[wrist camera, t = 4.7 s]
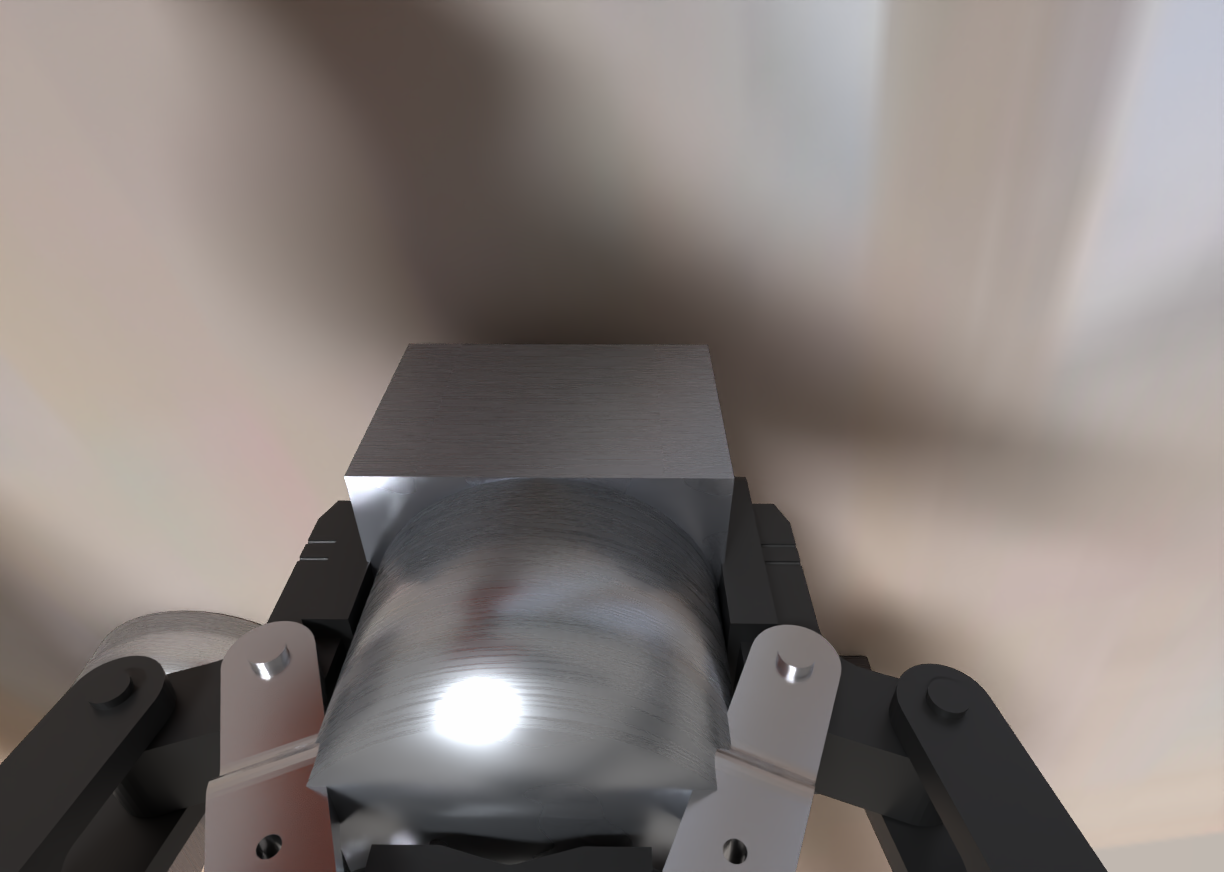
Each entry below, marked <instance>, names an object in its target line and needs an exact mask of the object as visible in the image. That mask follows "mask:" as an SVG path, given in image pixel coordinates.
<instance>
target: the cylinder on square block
mask: <svg viewBox="0 0 1224 872" xmlns="http://www.w3.org/2000/svg"><path fill="white" fill-rule="evenodd" d="M344 478H345V481H346V485H347V489H348V493H349V496H350V500H351V504H352V508H353V511H354V515H355V519H356V523H357V526H358V530H359V534H360V538H361V541H362V545H363V549H364V553H365V556H366V560H367V562H370V563H371V567H372V571H373V575H374V579H375V580H374V582H373V585H372V588H371V591H370V593H369V596H368V599H367V601H366V604H365V607H364V610H363V612H362V615H361V618H360V620H359V623H358V626H357V629H356V631H355V634H354V637H353V639H352V642H351V645H350V648H349V650H348V653H347V656H346V658H345V661H344V664H343V667H342V669H341V672H340V675H339V677H338V680H337V683H336V686H335V688H334V691H333V694H332V697H331V699H330V702H329V705H328V707H327V710H326V713H325V717H324V720H323V722H322V725H321V728H320V730H319V733H318V736H317V739H316V742H315V743H318V742H319V750H318V754H317V757H316V760H315V763H314V766H313V768H312V771H311V774H310V777H309V780H308V782H307V785H306V786H317V787H327V789H328V792H329V794H330V797H331V799H332V801H333V804H334V806H335V809H336V811H337V814H338V816H339V819H340V821H341V823H342V824H340V844H341V850H342V853H343V855H344V857H345V860H346V862H347V864H348V867H349V869H350V871H351V872H352V871H354V870H357V869H360V868H364V867H366V864H367V860H368V856H369V852H370V849H371V845H372V844H392V845H442V846H445V847H449V848H452V849H455V850H459V851H462V852H465V853H468V854H472V855H475V856H478V857H482V858H485V859H488V860H492V861H495V862H498V863H502V864H507V865H512V864H518V863H521V862H525V861H529V860H533V859H537V858H540V857H544V856H548V855H552V854H556V853H559V852H563V851H567V850H571V849H575V848H578V847H582V846H593V847H652V868H654V869H657V870H660V871H663V868H664V866H665V863H666V860H667V858H668V855H669V852H670V850H671V847H672V844H673V842H674V839H675V836H676V834H677V831H678V828H679V826H680V823H681V820H682V818H683V815H684V812H685V809H686V807H687V804H688V801H689V799H690V796H691V793H692V791H693V790H717V782H716V772H715V754H716V751H717V749H718V748H725V749H727V750H730V749H731V738H730V730H729V723H728V715H727V712H728V709H729V706H730V704H731V701H732V698H733V694H732V686H731V679H730V672H729V665H728V658H727V652H726V645H725V638H724V631H723V624H722V617H721V610H720V602H719V595H718V590H719V581H720V573H721V564H724V560H725V552H726V544H727V536H728V527H729V519H730V511H731V502H732V494H733V486H734V474H733V469H732V464H731V459H730V454H729V449H728V444H727V439H726V434H725V429H724V424H723V419H722V414H721V409H720V404H719V399H718V394H717V389H716V384H715V379H714V374H713V369H712V363H711V358H710V353H709V348H708V345H610V344H409V345H408V347H407V349H406V351H405V353H404V355H403V357H402V359H401V361H400V363H399V365H398V367H397V369H396V371H395V373H394V375H393V378H392V380H391V382H390V384H389V386H388V388H387V390H386V392H385V394H384V396H383V398H382V400H381V402H380V404H379V406H378V408H377V410H376V412H375V414H374V416H373V418H372V420H371V423H370V425H369V427H368V429H367V431H366V433H365V435H364V437H363V439H362V441H361V443H360V445H359V447H358V449H357V451H356V453H355V455H354V457H353V459H352V461H351V463H350V466H349V468H348V470H347V472H346V474H345V476H344Z"/></svg>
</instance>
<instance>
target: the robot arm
mask: <svg viewBox="0 0 1224 872" xmlns="http://www.w3.org/2000/svg"><path fill="white" fill-rule="evenodd" d="M795 545H796V544H795V540H794V536H793V533H792V529H791V525H790V522H789V521H788V520H787V519H786V518H785V517H784V516H783V514H782V513H781V512H780V511H779V510H778V509H777V507H776V506H775V505H774V504H752V502H751V497H750V493H749V488H748V484H747V480H746V478H745V477H734V486H733V494H732V502H731V511H730V519H729V527H728V536H727V544H726V552H725V560H724V564H721V573H720V581H719V590H718V595H719V602H720V610H721V617H722V624H723V631H724V638H725V645H726V652H727V658H728V665H729V672H730V679H731V686H732V694H733V698H732V701H731V704H730V706H729V709H728V712H727V715H728V723H729V730H730V738H731V749H730V750H727V749H725V748H718V749H717V751H716V754H715V772H716V782H717V790H693V791H692V793H691V796H690V799H689V801H688V804H687V807H686V809H685V812H684V815H683V818H682V820H681V823H680V826H679V828H678V831H677V834H676V836H675V839H674V842H673V844H672V847H671V850H670V852H669V855H668V858H667V860H666V863H665V866H664V868H663V871H660V870H657V869H654V868H652V847H593V846H582V847H578V848H575V849H571V850H567V851H563V852H559V853H556V854H552V855H548V856H544V857H540V858H537V859H533V860H529V861H525V862H521V863H518V864H512V865H507V864H502V863H498V862H495V861H492V860H488V859H485V858H482V857H478V856H475V855H472V854H468V853H465V852H462V851H459V850H455V849H452V848H449V847H445V846H442V845H392V844H372V845H371V849H370V852H369V856H368V860H367V864H366V867H364V868H360V869H357V870H354V871H352V872H796V868H797V864H798V859H799V855H800V851H801V847H802V842H803V838H804V834H805V830H806V825H807V821H808V817H809V812H810V808H811V804H812V800H813V795H814V792H816V793H819V794H822V795H825V796H828V797H831V798H834V799H837V800H840V801H843V802H846V803H849V804H852V805H855V806H858V807H861V808H864V809H865V811H866V813H867V816H868V818H869V820H870V822H871V825H872V827H873V829H874V831H875V833H876V836H877V838H878V840H879V842H880V844H881V847H882V849H883V851H884V853H885V856H886V858H887V860H888V862H889V864H890V867H891V869H892V871H893V872H1107V870H1106V869H1105V867H1104V866H1103V864H1102V863H1101V861H1100V860H1099V858H1098V857H1097V855H1096V854H1095V852H1094V851H1093V849H1092V848H1091V846H1090V845H1089V843H1088V842H1087V840H1086V839H1085V837H1084V836H1083V834H1082V833H1081V831H1080V830H1079V829H1078V827H1077V826H1076V824H1075V823H1074V821H1073V820H1072V818H1071V817H1070V815H1069V814H1068V812H1067V811H1066V809H1065V808H1064V806H1063V805H1062V803H1061V802H1060V800H1059V799H1058V797H1057V796H1056V794H1055V793H1054V791H1053V790H1052V788H1051V787H1050V786H1049V784H1048V783H1047V781H1046V780H1045V778H1044V777H1043V775H1042V774H1041V772H1040V771H1039V769H1038V768H1037V766H1036V765H1035V763H1034V762H1033V760H1032V759H1031V757H1030V756H1029V754H1028V753H1027V751H1026V750H1025V748H1024V747H1023V746H1022V744H1021V743H1020V741H1019V740H1018V738H1017V737H1016V735H1015V734H1014V732H1013V731H1012V729H1011V728H1010V726H1009V725H1008V723H1007V722H1006V720H1005V719H1004V717H1003V716H1002V714H1001V713H1000V711H999V710H998V708H997V707H996V705H995V704H994V703H993V701H992V700H991V698H990V697H989V695H988V694H987V693H986V691H985V690H984V689H983V688H982V687H981V686H980V685H979V684H978V683H977V682H976V681H974V680H973V679H972V678H970V677H969V676H967V675H966V674H964V673H962V672H960V671H958V670H956V669H953V668H950V667H947V666H943V665H939V664H921V665H917V666H914V667H912V668H910V669H908V670H907V671H905V672H904V673H903V674H902V676H901V677H900V679H898V678H895V677H891V676H888V675H884V674H881V673H877V672H874V671H870V670H867V669H864V668H861V667H858V666H856V665H854V664H852V663H850V662H848V661H847V660H845V659H843V658H842V657H841V656H839V655H838V654H837V652H836V650H835V649H834V647H833V646H832V645H831V644H830V643H829V642H828V641H827V640H826V639H825V638H824V637H822V635H821V633H820V630H819V627H818V624H817V620H816V616H815V613H814V609H813V606H812V602H811V598H810V595H809V591H808V587H807V584H806V580H805V576H804V573H803V569H802V566H800V558H799V554H798V551H797V548H796V546H795ZM374 580H375V579H374V575H373V571H372V567H371V563H370V562H367V560H366V556H365V553H364V549H363V545H362V541H361V538H360V534H359V530H358V526H357V523H356V519H355V515H354V511H353V508H352V504H351V501H338V502H337V503H335V504H334V505H333V506H332V507H331V508H330V509H329V510H328V511H327V512H326V513H325V514H323V515H322V516H321V517H320V518H319V519H318V521H317V523H316V525H315V527H314V529H313V531H312V533H311V535H310V537H309V539H308V544H306V545H305V547H304V549H303V551H302V553H301V555H300V561H297V563H296V565H295V567H294V569H293V572H292V574H291V576H290V578H289V580H288V582H287V584H286V586H285V588H284V590H283V592H282V594H281V596H280V598H279V600H278V602H277V604H276V606H275V608H274V610H273V612H272V614H271V616H270V618H269V620H268V622H267V624H264V625H262V626H259V627H257V628H255V629H252V630H251V631H249V632H247V633H246V634H244V635H243V636H242V637H240V638H239V639H238V640H237V641H236V642H235V643H234V644H233V645H232V646H231V647H230V648H229V650H228V651H227V652H226V654H225V656H224V658H223V659H221V660H219V661H215V662H212V663H209V664H205V665H201V666H197V667H193V668H189V669H185V670H181V671H177V672H173V673H169V674H166V673H165V671H164V669H163V668H162V666H161V664H160V663H158V662H157V661H156V660H154V659H152V658H150V657H146V656H127V657H122V658H118V659H115V660H112V661H109V662H107V663H104V664H102V665H100V666H98V667H97V668H95V669H93V670H92V671H90V672H88V673H87V674H86V675H84V676H83V677H82V678H81V679H79V680H78V681H77V682H76V683H75V684H74V685H73V686H72V687H71V688H70V689H69V690H68V691H67V693H66V694H65V695H64V696H63V697H62V698H61V699H60V700H59V701H58V702H57V703H56V705H55V706H54V707H53V708H52V709H51V710H50V711H49V712H48V713H47V714H46V715H45V717H44V718H43V719H42V720H41V721H40V722H39V723H38V724H37V725H36V726H35V727H34V729H33V730H32V731H31V732H30V733H29V734H28V735H27V736H26V737H25V738H24V740H23V741H22V742H21V743H20V744H19V745H18V746H17V747H16V748H15V749H14V750H13V752H12V753H11V754H10V755H9V756H8V757H7V758H6V759H5V760H4V761H3V762H2V764H1V765H0V872H168V870H169V868H170V867H171V865H172V864H173V862H174V861H175V859H176V857H177V856H178V854H179V853H180V851H181V850H182V848H183V847H184V845H185V843H186V842H187V840H188V839H189V837H190V836H191V834H192V833H193V831H194V829H195V828H196V826H197V825H198V823H199V822H200V820H201V818H202V817H203V815H204V814H205V859H204V872H351V871H350V869H349V867H348V864H347V862H346V860H345V857H344V855H343V853H342V850H341V844H340V824H342V823H341V821H340V819H339V816H338V814H337V811H336V809H335V806H334V804H333V801H332V799H331V797H330V794H329V792H328V789H327V787H317V786H306V785H307V782H308V780H309V777H310V774H311V771H312V768H313V766H314V763H315V760H316V757H317V754H318V750H319V742H318V743H315V742H316V739H317V736H318V733H319V730H320V728H321V725H322V722H323V720H324V717H325V713H326V710H327V707H328V705H329V702H330V699H331V697H332V694H333V691H334V688H335V686H336V683H337V680H338V677H339V675H340V672H341V669H342V667H343V664H344V661H345V658H346V656H347V653H348V650H349V648H350V645H351V642H352V639H353V637H354V634H355V631H356V629H357V626H358V623H359V620H360V618H361V615H362V612H363V610H364V607H365V604H366V601H367V599H368V596H369V593H370V591H371V588H372V585H373V582H374Z"/></svg>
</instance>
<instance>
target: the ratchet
mask: <svg viewBox="0 0 1224 872" xmlns="http://www.w3.org/2000/svg"><path fill="white" fill-rule="evenodd" d="M259 626H261V625H258V624H256V623H253V622H250V621H246V620H243V619H240V618H236V617H231V616H226V615H222V614H215V613H208V612H197V611H170V612H162V613H155V614H150V615H146V616H142V617H138V618H136V619H133V620H131V621H128V622H126V623H124V624H122V625H121V626H119V627H117V628H116V629H115V630H113V631H112V632H111V633H110V634H109V635H107V637H106V638H105V639H104V641H103V642H102V643H101V645H100V646H99V648H98V649H97V651H96V652H95V653H94V655H93V656H92V658H91V659H90V661H89V662H88V664H87V665H86V666H85V668H84V669H83V671H82V672H81V674H80V675H79V677H78V678H77V679H76V681H75V682H74V684H75V683H76V682H77V681H78V680H79V679H81V678H82V677H83V676H84V675H86V674H87V673H88V672H90V671H92V670H93V669H95V668H97V667H98V666H100V665H102V664H104V663H107V662H109V661H112V660H115V659H118V658H122V657H127V656H146V657H150V658H152V659H154V660H156V661H157V662H158V663H160V664H161V666H162V668H163V669H164V671H165V673H166V674H169V673H173V672H177V671H181V670H185V669H189V668H193V667H197V666H201V665H205V664H209V663H212V662H215V661H219V660H221V659H223V658H224V656H225V654H226V652H227V651H228V650H229V648H230V647H231V646H232V645H233V644H234V643H235V642H236V641H237V640H238V639H239V638H240V637H242V636H243V635H244V634H246V633H247V632H249V631H251V630H252V629H255V628H257V627H259ZM841 657H842V658H843V659H845V660H847V661H848V662H850V663H852V664H854V665H856V666H858V667H861V668H864V669H867V670H870V671H871V668H870V665H869V662H868V659H867V657H845V656H841ZM74 684H73V685H74ZM73 685H72V686H73ZM814 794H819V793H816V792H814ZM204 859H205V814H204V815H203V817H202V818H201V820H200V822H199V823H198V825H197V826H196V828H195V829H194V831H193V833H192V834H191V836H190V837H189V839H188V840H187V842H186V843H185V845H184V847H183V848H182V850H181V851H180V853H179V854H178V856H177V857H176V859H175V861H174V862H173V864H172V865H171V867H170V868H169V870H168V872H201V871H202V868H203V866H204Z"/></svg>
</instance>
